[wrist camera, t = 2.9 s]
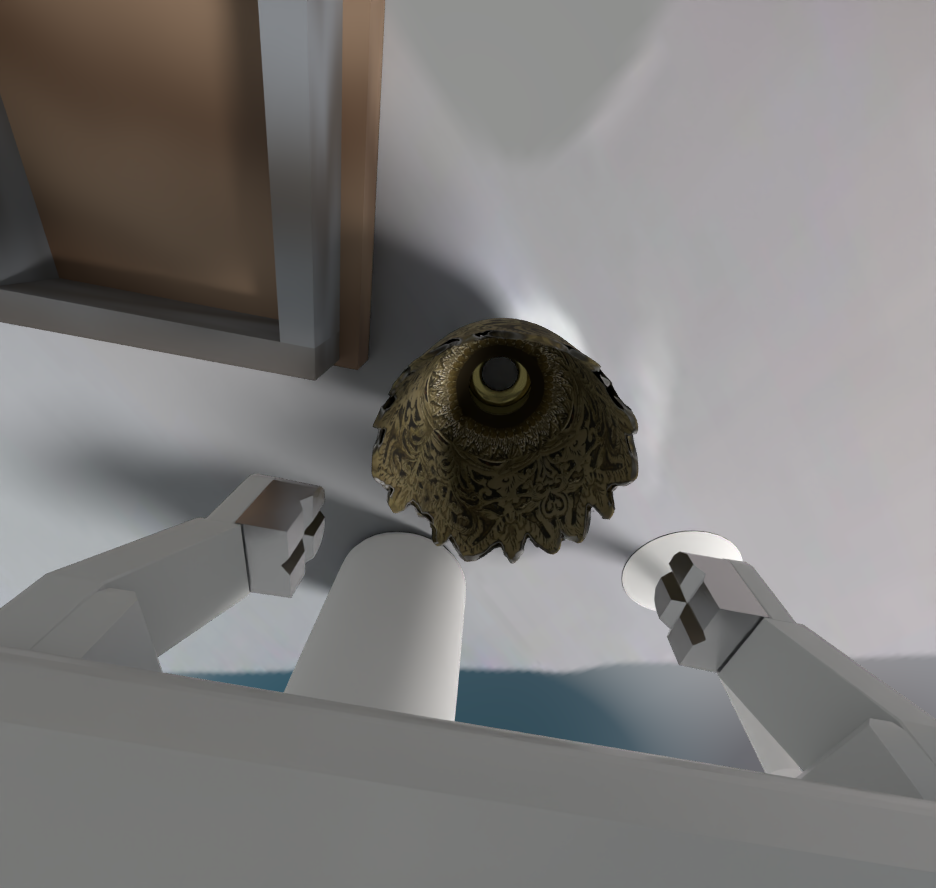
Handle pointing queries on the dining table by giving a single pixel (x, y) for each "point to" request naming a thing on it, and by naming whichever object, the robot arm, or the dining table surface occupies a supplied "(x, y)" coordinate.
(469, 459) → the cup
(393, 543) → the milk bottle
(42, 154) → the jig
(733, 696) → the champagne flute
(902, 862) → the robot arm
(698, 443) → the dining table surface
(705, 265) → the dining table surface
